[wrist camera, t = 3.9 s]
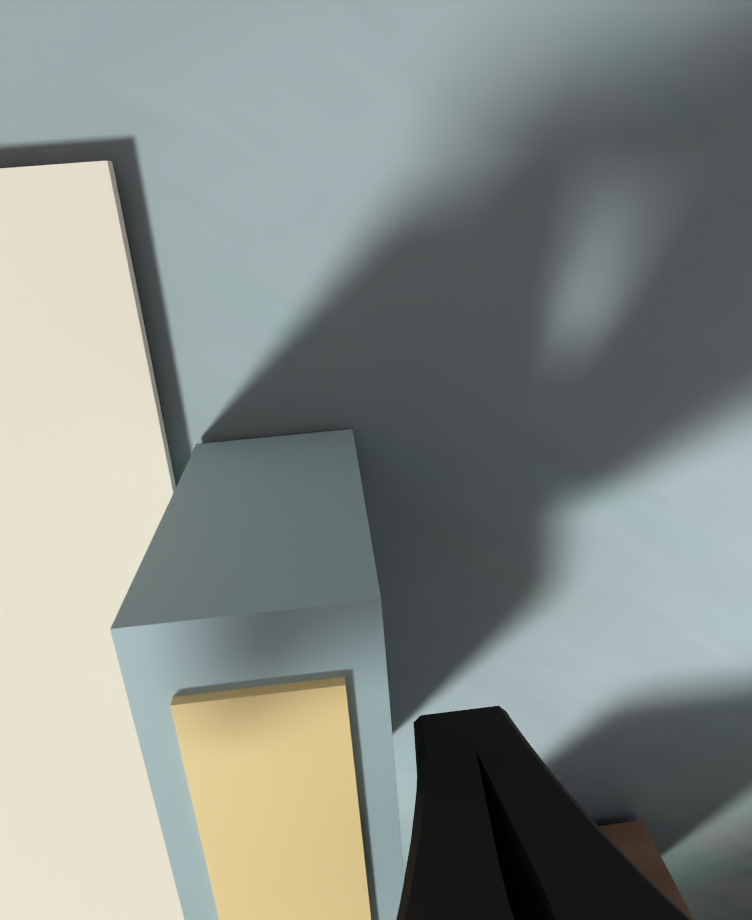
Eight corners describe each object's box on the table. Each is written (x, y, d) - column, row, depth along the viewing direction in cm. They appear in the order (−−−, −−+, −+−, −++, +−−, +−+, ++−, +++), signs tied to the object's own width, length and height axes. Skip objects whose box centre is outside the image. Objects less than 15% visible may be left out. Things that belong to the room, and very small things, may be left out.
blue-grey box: (352, 428, 13) (382, 606, 8) (381, 748, 16) (418, 1051, 10) (196, 444, 13) (106, 636, 7) (253, 764, 16) (221, 1080, 10)
